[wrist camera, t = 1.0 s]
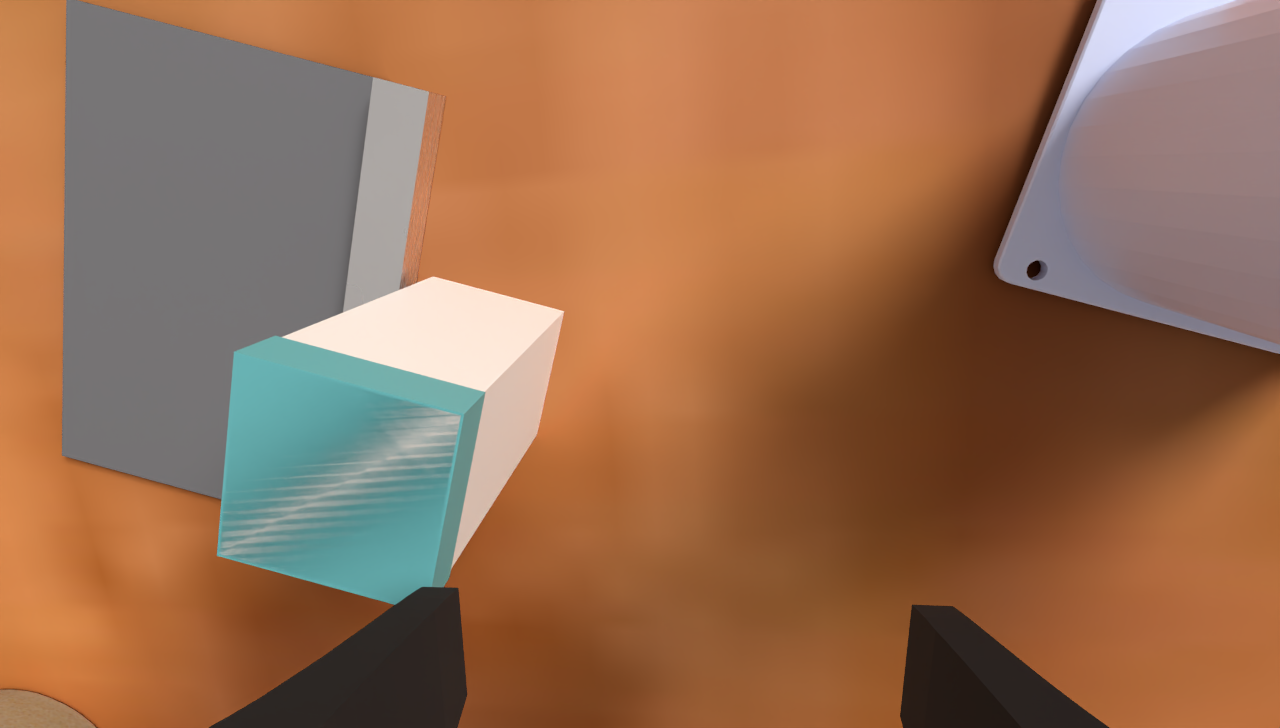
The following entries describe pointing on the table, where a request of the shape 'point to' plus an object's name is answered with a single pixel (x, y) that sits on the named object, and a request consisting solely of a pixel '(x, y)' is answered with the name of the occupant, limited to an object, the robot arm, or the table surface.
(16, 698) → the plant pot
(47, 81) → the table surface
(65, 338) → the mat
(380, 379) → the tall block
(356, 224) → the stop rail
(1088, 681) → the table surface
